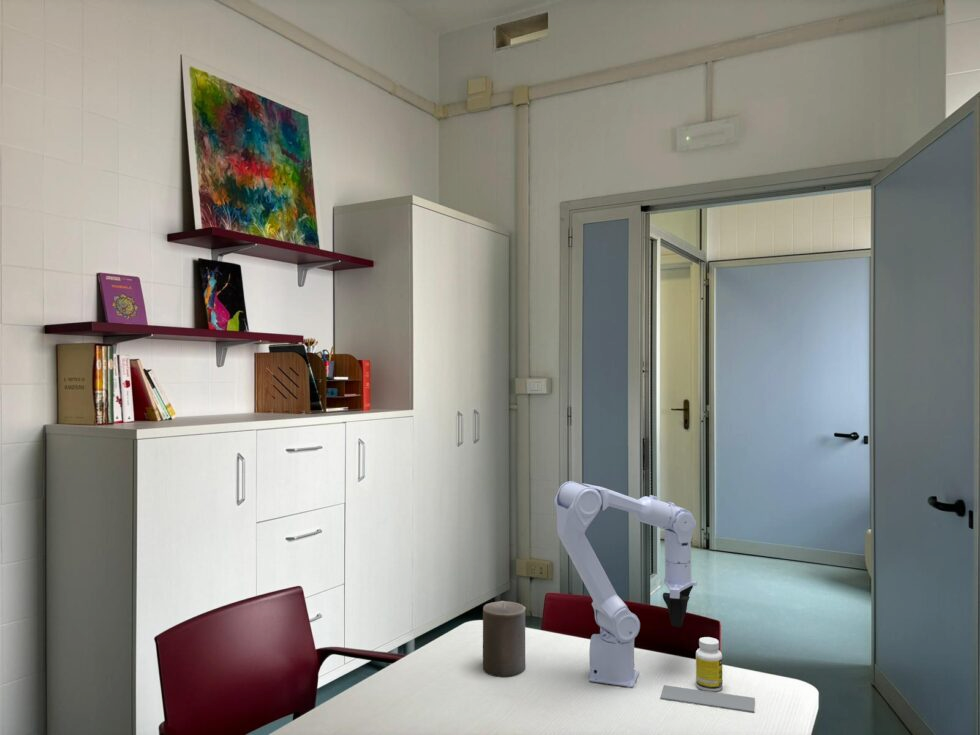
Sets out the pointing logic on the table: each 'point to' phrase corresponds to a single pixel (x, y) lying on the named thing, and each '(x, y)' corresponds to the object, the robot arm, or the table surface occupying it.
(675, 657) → the table surface
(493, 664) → the pillar candle
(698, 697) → the mat
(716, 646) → the supplement bottle
